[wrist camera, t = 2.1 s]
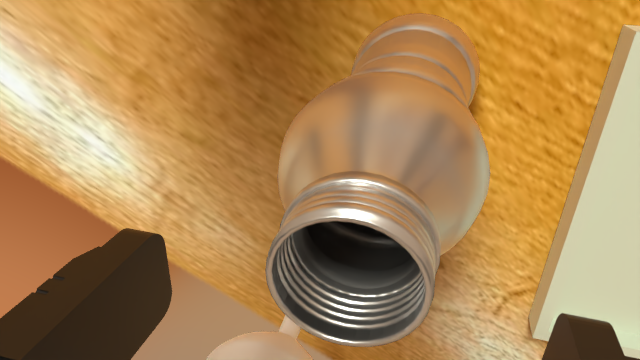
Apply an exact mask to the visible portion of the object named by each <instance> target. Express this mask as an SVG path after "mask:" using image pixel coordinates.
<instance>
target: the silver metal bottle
mask: <svg viewBox="0 0 640 360" xmlns="http://www.w3.org/2000/svg"><path fill="white" fill-rule="evenodd" d="M479 73H480V68H479V59H478V56H477V53H476V50H475V47H474V45H473V44H472V42H471V40H470V39H469V37H468V36H467V35H466V34H465V33H464V32H463V31H462V30H461V29H460V28H459V27H458V26H457V25H455V24H453V23H452V22H450V21H449V20H447V19H444V18H441V17H439V16H436V15H430V14H423V13H421V14H407V15H403V16H399V17H396V18H394V19H391V20H389V21H387V22H385V23H383V24H382V25H381V26H379V27H378V28H376V29H375V30H374V31H373V32H372V33H371V34H370V35H369V36H368V37H367V38H366V39H365V41H364V42H363V44H362V45H361V47H360V48H359V50H358V53H357V55H356V58H355V60H354V64H353V67H352V72H351V76H349V77H347V78H345V79H343V80H341V81H339V82H337V83H334V84H333V85H331V86H330V87H329V88H327V89H326V90H324V91H323V92H321V93H320V94H318V95H317V96H316V97H315V98H313V99H312V100H311V101H310V102H309V103H308V104H307V105H306V106H305V107H304V108H303V109H302V110H301V111H300V112H299V113H298V114H297V115H296V117H295V118H294V120H293V121H292V123H291V125H290V126H289V128H288V130H287V132H286V135H285V138H284V141H283V143H282V146H281V152H280V159H279V167H278V176H277V178H278V188H279V195H280V198H281V201H282V204H283V207H284V210H285V211H286V212H285V214H284V216H283V219H282V222H281V224H280V230H279V232H278V233H277V235H276V237H275V239H274V240H273V242H272V245H271V247H270V250H269V253H268V257H267V262H266V270H265V271H266V279H267V284H268V287H269V290H270V293H271V295H272V297H273V299H274V300H275V302H276V304H277V305H278V307H279V308H280V309H281V310H282V311H283V313H284V314H285V315H286V316H287V317H288V318H289V319H290V320H291V321H293V322H294V323H295V324H296V325H297V326H299V327H300V328H302V329H304V330H305V331H307V332H308V333H310V334H312V335H314V336H316V337H319V338H321V339H323V340H326V341H329V342H333V343H336V344H339V345H346V346H353V347H372V346H379V345H385V344H388V343H391V342H394V341H397V340H399V339H401V338H403V337H405V336H407V335H409V334H410V333H411V332H413V331H414V330H415V329H416V328H417V327H418V326H419V325H420V324H421V323H422V321H423V320H424V319H425V317H426V316H427V314H428V311H429V308H430V306H431V303H432V300H433V297H434V287H435V275H436V272H437V270H438V267H439V264H440V256H441V255H443V254H444V253H446V252H447V251H449V250H450V249H452V248H453V247H454V246H455V245H456V244H457V243H458V242H459V241H460V240H461V239H462V238H463V237H464V236H465V234H466V233H467V231H468V230H469V228H470V227H471V225H472V224H473V222H474V221H475V219H476V217H477V216H478V214H479V212H480V211H481V209H482V206H483V203H484V201H485V198H486V196H487V193H488V187H489V179H490V167H489V158H488V152H487V149H486V146H485V142H484V140H483V137H482V134H481V131H480V129H479V126H478V124H477V122H476V121H475V119H474V117H473V116H472V114H471V112H470V110H469V109H468V107H469V105H470V104H471V102H472V100H473V97H474V95H475V92H476V89H477V86H478V82H479Z"/></svg>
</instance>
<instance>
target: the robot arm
mask: <svg viewBox="0 0 640 360" xmlns="http://www.w3.org/2000/svg"><path fill="white" fill-rule="evenodd" d="M171 296H172V288H171V280H170V274H169V267H168V260H167V254H166V247H165V242H164V239H163V237H162V236H161V235H159V234H155V233H150V232H145V231H140V230H134V229H129V228H127V229H123V230H121V231H120V232H119V233H118V234H116V235H115V236H114V237H113V238H112V239H111V240H109V241H108V242H107V243H106V244H105V245H103V246H102V247H97V248H94V249H93V250H90V251H88V252H86V253H84V254H82V255H80V256H78V257H76V258H74V259H72V260H71V261H70V262H69V263H68V264H66V265H65V266H64V267H63V268H61V269H60V270H59V271H58V272H57V273H55V274H54V276H53V278H52V279H48V280H47V281H46V282H45V283H43V284H42V285H41V286H40V287H38V288H37V291H36V293H31V294H30V295H29V296H27V297H26V298H25V299H24V300H22V301H21V302H20V303H19V304H18V305H16V306H15V307H14V308H13V309H11V310H10V311H9V312H8V313H7V314H5V315H4V316H3V317H2V318H0V360H131V358H132V357H133V356H134V354H135V353H136V352H137V351H138V349H139V348H140V347H141V345H142V344H143V343H144V342H145V340H146V339H147V338H148V337H149V335H150V334H151V333H152V331H153V330H154V329H155V328H156V326H157V325H158V324H159V323H160V321H161V320H162V319H163V317H164V316H165V314H166V312H167V310H168V308H169V305H170V301H171ZM542 360H640V359H638V358H633V357H628V356H625V355H624V353H623V350H622V348H621V345H620V343H619V341H618V338H617V336H616V333H615V331H614V329H613V327H612V325H611V324H610V323H609V322H606V321H601V320H596V319H591V318H586V317H581V316H575V315H570V314H565V313H561V314H560V315H559V316H558V318H557V319H556V322H555V324H554V327H553V330H552V333H551V336H550V338H549V341H548V344H547V347H546V349H545V352H544V355H543V358H542Z"/></svg>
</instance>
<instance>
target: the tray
mask: <svg viewBox="0 0 640 360" xmlns="http://www.w3.org/2000/svg"><path fill="white" fill-rule="evenodd" d="M561 313H565V314H570V315H575V316H581V317H586V318H591V319H596V320H601V321H606V322H609V323H610V324H611V325H612V327H613V329H614V331H615V333H616V336H617V338H618V341H619V343H620V345H621V348H622V350H623V353H624V355H625V356H628V357H633V358H638V359H640V26H634V25H623V27H622V30H621V33H620V36H619V39H618V42H617V46H616V49H615V52H614V55H613V58H612V61H611V64H610V67H609V70H608V73H607V76H606V80H605V83H604V86H603V89H602V92H601V95H600V98H599V101H598V104H597V107H596V110H595V113H594V117H593V120H592V123H591V126H590V129H589V132H588V135H587V138H586V141H585V144H584V147H583V150H582V154H581V157H580V160H579V163H578V166H577V169H576V172H575V175H574V178H573V181H572V184H571V188H570V191H569V194H568V197H567V200H566V203H565V206H564V209H563V212H562V215H561V218H560V221H559V225H558V228H557V231H556V234H555V237H554V240H553V243H552V246H551V249H550V252H549V255H548V259H547V262H546V265H545V268H544V271H543V274H542V277H541V280H540V283H539V286H538V289H537V292H536V296H535V299H534V302H533V305H532V308H531V311H530V314H529V322H530V328H531V333H532V338H535V339H540V340H545V341H549V338H550V336H551V333H552V330H553V327H554V324H555V322H556V319H557V318H558V316H559V315H560V314H561Z"/></svg>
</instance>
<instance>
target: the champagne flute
mask: <svg viewBox="0 0 640 360" xmlns="http://www.w3.org/2000/svg"><path fill="white" fill-rule="evenodd" d="M300 330H301V328H300V327H299V326H297V325H296V324H295V323H294V322H293V321H291V320H290V319H289V318H288V317H287V316H286V315H285V318H284V320H283V322H282V324H281V326H280V329H279V331H278V332H268V331H260V332H259V331H258V332H250V333H246V334H243V335H240V336H237V337H234V338H232V339H230V340H228V341H226V342H224V343H222V344H221V345H219V346H218V347H217V348H216V349H214V350H213V351H212V352H211V353H210V354H209V356H208V357H207V359H206V360H313V358H312V357H311V356H310V355H309V353H308V352H307V351H306V350H305V349H304V348H303V347H302V346H301V345H300V343H299V342H298V341H297V337H298V335H299V332H300Z"/></svg>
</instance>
